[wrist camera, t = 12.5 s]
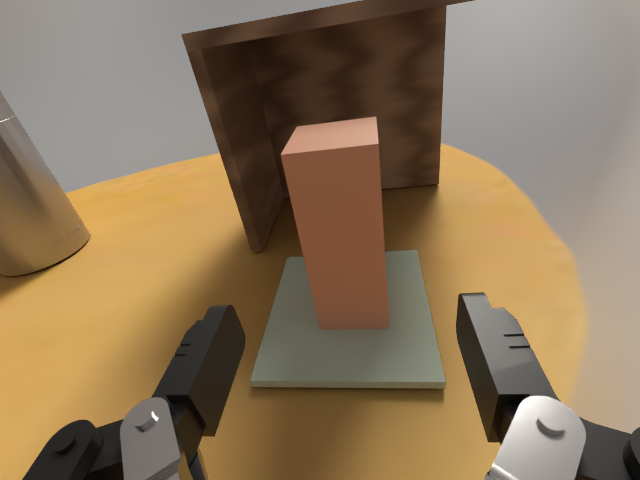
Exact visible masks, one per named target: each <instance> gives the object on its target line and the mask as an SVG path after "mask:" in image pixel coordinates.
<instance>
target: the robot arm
mask: <svg viewBox="0 0 640 480" xmlns="http://www.w3.org/2000/svg"><path fill="white" fill-rule="evenodd" d="M89 236H90V234H89V231H88V230H87V228H86V226H85V225H84V223H83V222H82V220H81V218H80V217H79V215H78V214H77V212H76V210H75V209H74V207H73V206H72V204H71V202H70V201H69V199H68V197H67V196H66V194H65V193H64V191H63V190H62V188H61V187H60V185H59V183H58V182H57V180H56V178H55V177H54V175H53V174H52V172H51V171H50V169H49V168H48V166H47V164H46V163H45V161H44V159H43V158H42V156H41V155H40V153H39V151H38V150H37V148H36V147H35V145H34V144H33V142H32V140H31V139H30V137H29V136H28V134H27V133H26V131H25V129H24V128H23V126H22V125H21V123H20V121H19V120H18V118H17V117H16V115H15V114H14V112H13V110H12V109H11V107H10V106H9V104H8V102H7V101H6V99H5V98H4V96H3V95H2V93H1V91H0V273H1V274H2V275H6V276H17V275H23V274H28V273H31V272H35V271H38V270H41V269H43V268H46V267H48V266H51V265H53V264H55V263H57V262H59V261H61V260H63V259H65V258H67V257H68V256H70V255H71V254H73V253H74V252H76V251H77V250H78V249H80V248H81V247H82V246H83V245H84V244H85V243H86V242H87V240H88V239H89ZM456 333H457V340H458V344H459V347H460V350H461V354H462V357H463V360H464V364H465V367H466V370H467V374H468V377H469V380H470V384H471V387H472V390H473V393H474V397H475V400H476V403H477V407H478V410H479V413H480V417H481V420H482V423H483V427H484V430H485V433H486V436H487V440H488V442H500V444H501V447H500V450H499V452H498V454H497V456H496V458H495V461H494V463H493V465H492V467H491V469H490V471H489V472H488V473H487V474H486V476H485V478H484V480H640V427H639V428H637V429H636V430H635V431H634V432H633V433H632V434H629V433H625V432H622V431H619V430H615V429H611V428H608V427H604V426H601V425H597V424H594V423H591V422H589V421H587V420H584V419H582V418H581V417H579V416H577V414H576V413H575V412H574V411H573V410H572V409H570V408H569V407H568V406H566V405H565V404H564V403H562V402H561V401H560V400H559V399H558V398H557V396H556V394H555V393H554V391H553V389H552V387H551V385H550V383H549V381H548V379H547V377H546V375H545V373H544V371H543V370H542V368H541V366H540V364H539V362H538V360H537V358H536V356H535V354H534V352H533V350H532V349H531V348H530V344H529V342H528V340H527V338H526V337H525V336H524V333H523V331H522V329H521V327H520V325H519V323H518V321H517V319H516V318H514V317H513V316H512V315H511V314H510V313H509V312H508V311H507V310H505V309H504V308H491V305H490V303H489V301H488V299H487V297H486V295H485V293H483V292H482V293H462V294H459V297H458V308H457V320H456ZM244 347H245V334H244V331H243V328H242V326H241V323H240V321H239V319H238V316H237V314H236V311H235V309H234V307H233V306H232V305H218V306H211V307H210V308H209V309H208V311H207V313H206V315H205V317H204V319H203V320H201V321H197V322H196V323H195V324H194V325H193V326H192V327H191V328H190V329H189V330H188V331H187V332H186V334H185V336H184V338H183V340H182V341H181V343H180V347H178V349H177V351H176V353H175V357H173V358H172V360H171V362H170V364H169V366H168V368H167V370H166V371H165V373H164V375H163V377H162V379H161V381H160V383H159V384H158V386H157V388H156V390H155V392H154V394H153V395H152V397H151V398H149V399H147V400H144V401H142V402H141V403H139V404H138V405H136V406H135V407H134V408H133V409H132V410H131V411H130V412H129V413H128V414H127V415H126V417H125V418H124V419H123V420H119V421H116V422H113V423H110V424H107V425H104V426H101V427H98V428H96V427H95V426H94V425H93V424H92V423H91V422H90V421H88V420H78V421H74V422H72V423H70V424H68V425H66V426H65V427H63V428H62V429H60V430H59V431H58V432H57V433H56V434H54V435H53V436H52V438H51V439H50V440H49V441H48V442H47V444H46V445H45V447H44V448H43V450H42V451H41V452H40V454H39V455H38V457H37V458H36V460H35V461H34V463H33V464H32V466H31V467H30V469H29V470H28V472H27V473H26V475H25V476H24V478H23V479H22V480H209V479H208V475H207V472H206V468H205V465H204V462H203V458H202V455H201V451H200V449H199V447H198V446H199V443H200V441H201V438H202V436H215V434H216V431H217V428H218V425H219V422H220V419H221V416H222V413H223V410H224V407H225V404H226V401H227V398H228V395H229V392H230V389H231V386H232V383H233V380H234V377H235V374H236V371H237V368H238V365H239V362H240V360H241V357H242V354H243V351H244Z"/></svg>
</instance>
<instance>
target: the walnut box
mask: <svg viewBox="0 0 640 480" xmlns="http://www.w3.org/2000/svg"><path fill="white" fill-rule="evenodd" d="M467 1H473V0H363V1H357V2H352V3H346V4H341V5H335V6H330V7H325V8H319V9H314V10H309V11H303V12H298V13H293V14H288V15H282V16H277V17H272V18H267V19H261V20H256V21H250V22H245V23H240V24H234V25H229V26H224V27H218V28H213V29H208V30H203V31H197V32H192V33H187V34H182V38H183V41H184V44H185V47H186V50H187V53H188V56H189V59H190V62H191V65H192V69H193V72H194V75H195V78H196V81H197V84H198V87H199V90H200V93H201V96H202V99H203V102H204V105H205V109H206V112H207V115H208V117H209V121H210V124H211V127H212V130H213V133H214V136H215V139H216V142H217V145H218V149H219V151H220V155H221V158H222V161H223V164H224V167H225V170H226V173H227V176H228V179H229V182H230V185H231V189H232V192H233V195H234V198H235V201H236V204H237V207H238V210H239V213H240V216H241V219H242V222H243V225H244V229H245V232H246V235H247V238H248V241H249V244H250V247H251V250H252V252H260V251H262V250H263V248H264V246H265V243H266V241H267V238H268V236H269V234H270V231H271V229H272V226H273V224H274V222H275V219H276V217H277V214H278V212H279V209H280V207H281V205H282V202H283V200H284V198H288V197H290V194H289V190H288V186H287V181H286V177H285V172H284V168H283V163H282V159H281V153H282V151H283V150H284V148H285V146H286V144H287V143H288V141H289V139H290V137H291V136H292V134H293V132H294V131H295V129H296V127H298V126H305V125H313V124H321V123H329V122H337V121H345V120H353V119H361V118H369V117H376V120H377V131H378V142H379V159H380V176H381V189H387V188H398V187H409V186H420V185H431V184H439V167H440V144H441V119H442V96H443V74H444V51H445V27H446V5H450V4H456V3H462V2H467Z"/></svg>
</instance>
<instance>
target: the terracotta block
mask: <svg viewBox="0 0 640 480" xmlns="http://www.w3.org/2000/svg"><path fill="white" fill-rule="evenodd" d="M281 159H282V163H283V168H284V172H285V177H286V181H287V186H288V190H289V194H290V199H291V203H292V208H293V212H294V217H295V221H296V226H297V230H298V235H299V239H300V244H301V248H302V252H303V257H304V261H305V266H306V270H307V275H308V279H309V284H310V288H311V293H312V297H313V301H314V306H315V310H316V315H317V319H318V324H319V328H320V330H340V329H389V312H388V295H387V278H386V261H385V244H384V227H383V210H382V193H381V176H380V159H379V142H378V131H377V120H376V117H369V118H361V119H353V120H345V121H337V122H329V123H321V124H313V125H305V126H298V127H296V129H295V131H294V132H293V134H292V136H291V137H290V139H289V141H288V143H287V144H286V146H285V148H284V150H283V151H282V153H281Z"/></svg>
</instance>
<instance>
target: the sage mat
mask: <svg viewBox="0 0 640 480" xmlns="http://www.w3.org/2000/svg"><path fill="white" fill-rule="evenodd" d="M385 261H386V278H387V295H388V312H389V329H340V330H320V328H319V324H318V319H317V315H316V310H315V306H314V301H313V297H312V293H311V288H310V284H309V279H308V275H307V270H306V266H305V261H304V257H303V256H300V257H287V260H286V264H285V267H284V270H283V273H282V277H281V280H280V283H279V286H278V290H277V293H276V296H275V300H274V303H273V306H272V309H271V313H270V316H269V319H268V323H267V326H266V329H265V332H264V336H263V339H262V342H261V345H260V349H259V352H258V355H257V359H256V362H255V365H254V368H253V372H252V375H251V378H250V383H251V385H252V387H320V388H434V389H445V385H446V381H445V376H444V372H443V367H442V362H441V358H440V353H439V349H438V344H437V340H436V335H435V330H434V326H433V321H432V317H431V312H430V307H429V303H428V298H427V294H426V289H425V285H424V280H423V275H422V271H421V266H420V262H419V257H418V252H417V250H400V251H385Z"/></svg>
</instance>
